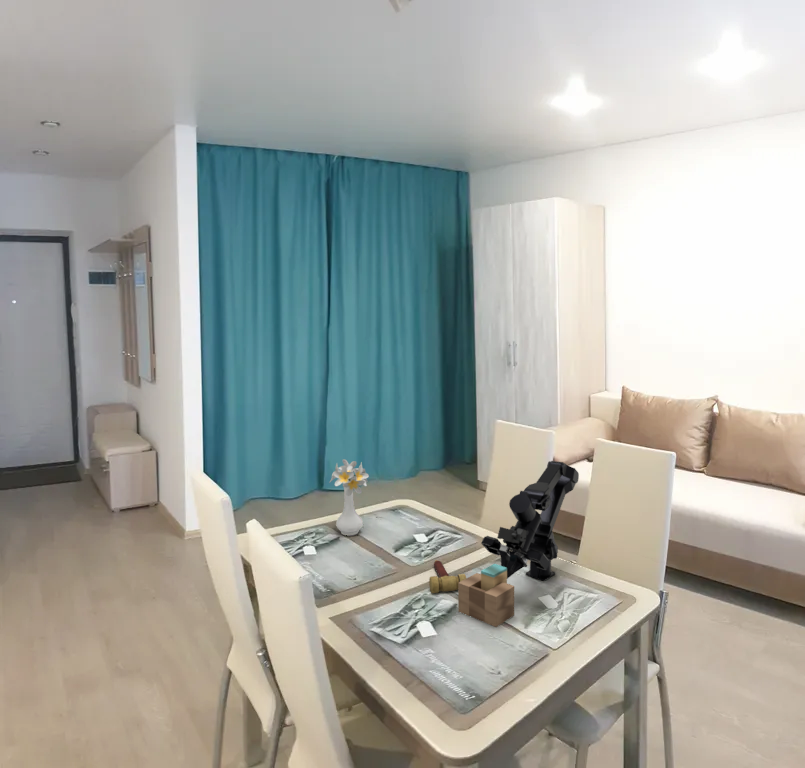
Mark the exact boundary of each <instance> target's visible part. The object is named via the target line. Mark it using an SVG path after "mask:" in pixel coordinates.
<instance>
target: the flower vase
mask: <svg viewBox="0 0 805 768" xmlns="http://www.w3.org/2000/svg"><path fill="white" fill-rule="evenodd" d="M362 463H363V462H362V461H361V462H360V465H359V466H358V467H357V461H356V460H355V461H354V460H353V461H351V462H350V463H349V462H348V460H347V459H342V464H343V465H340V466H339V465H338V463H336V464H335V468H334V469H335V470H334V471H333V472H332V474H331V479H330V481H329V482H328V483H329V484H330V483H331V482H332V481H334V480H335V479H336V481H334V486H335V487H339V486H341V485H342V487H343V491H344V499H343V500H344V501H343V502H344V505H343V509H342V512H341V514H340V515H339V517H338V518H337V520H336V522H335V525H336V526H335V527H336V528H337V530H339V531H340V534H341V535H343V536H346V535H347V536H349V537H350V536H355V535H357V534H359V531H360V530H361V528H362V527H363V525H364V521H363V518H362V517H361V516H360V515H359V514H358V513H357V511H356V508H355V502H354V491H355V493H356V494H359V495H361V494H362V493H363V491H362V488H361V487H360V486H364V487H367V486H368V485H367V483H368V482H369V481H368V478H369V477H370V476H369V473H367V472H366V468H363V464H362ZM338 466H339V467H338ZM356 467H357V468H356ZM347 536H346V537H347Z"/></svg>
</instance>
